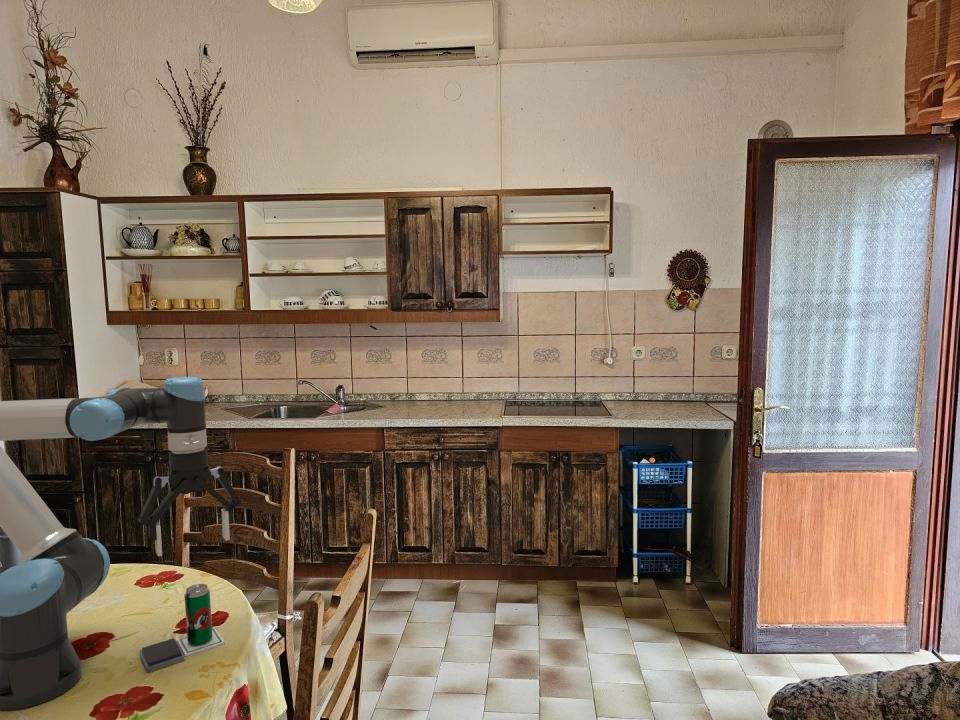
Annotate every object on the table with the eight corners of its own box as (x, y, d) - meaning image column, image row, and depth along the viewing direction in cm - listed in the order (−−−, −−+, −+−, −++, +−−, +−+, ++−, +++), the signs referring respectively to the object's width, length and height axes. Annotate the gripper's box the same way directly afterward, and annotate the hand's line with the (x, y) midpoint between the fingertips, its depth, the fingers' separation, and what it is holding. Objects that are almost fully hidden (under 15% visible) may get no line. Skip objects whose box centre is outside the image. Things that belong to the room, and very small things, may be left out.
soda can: (217, 635, 140) (213, 583, 139) (205, 647, 135) (201, 593, 134) (195, 634, 141) (192, 582, 140) (182, 646, 136) (179, 593, 135)
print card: (185, 656, 132) (185, 654, 132) (177, 641, 139) (176, 638, 139) (224, 643, 137) (224, 641, 137) (215, 629, 144) (214, 627, 144)
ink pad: (147, 673, 127) (146, 664, 127) (140, 655, 133) (139, 647, 133) (184, 660, 131) (183, 652, 131) (176, 644, 137) (175, 636, 137)
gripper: (124, 462, 124) (131, 566, 126) (252, 444, 139) (257, 537, 141) (118, 455, 130) (125, 555, 132) (242, 438, 145) (247, 528, 147)
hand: (193, 546), depth 136 cm, fingers open, 13 cm apart
